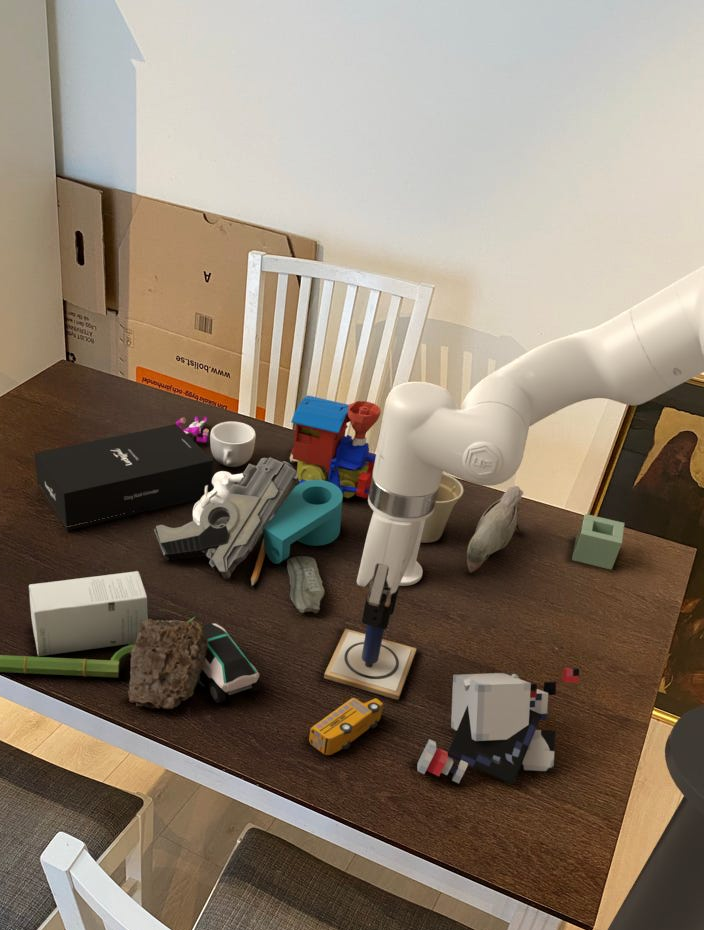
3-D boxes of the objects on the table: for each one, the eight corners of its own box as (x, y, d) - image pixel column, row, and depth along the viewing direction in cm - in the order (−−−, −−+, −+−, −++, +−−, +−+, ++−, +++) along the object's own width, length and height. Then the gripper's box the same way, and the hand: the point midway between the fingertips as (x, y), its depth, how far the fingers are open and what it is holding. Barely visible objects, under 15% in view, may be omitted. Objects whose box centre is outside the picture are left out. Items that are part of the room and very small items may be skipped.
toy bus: (386, 703, 115) (362, 687, 117) (334, 742, 110) (309, 725, 112) (383, 721, 117) (359, 705, 119) (331, 761, 112) (308, 744, 114)
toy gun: (142, 542, 139) (225, 585, 134) (216, 428, 142) (300, 465, 137) (149, 552, 142) (231, 594, 137) (221, 440, 145) (304, 477, 140)
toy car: (219, 709, 117) (221, 679, 114) (178, 651, 125) (178, 620, 121) (260, 695, 119) (264, 665, 116) (217, 639, 127) (219, 608, 124)
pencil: (272, 519, 150) (250, 590, 136) (269, 514, 150) (247, 584, 136) (277, 517, 150) (256, 588, 136) (275, 512, 149) (253, 583, 135)
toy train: (303, 462, 163) (312, 381, 153) (392, 483, 159) (407, 402, 149) (283, 490, 156) (292, 408, 146) (376, 514, 152) (391, 430, 142)
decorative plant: (-39, 659, 115) (205, 671, 116) (-27, 604, 120) (207, 616, 121) (-30, 684, 120) (203, 695, 122) (-20, 631, 125) (205, 642, 126)
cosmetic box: (149, 641, 126) (39, 662, 123) (139, 612, 130) (32, 631, 127) (148, 594, 120) (31, 614, 117) (137, 565, 125) (24, 584, 121)
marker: (362, 657, 124) (376, 577, 116) (379, 661, 124) (394, 582, 115) (357, 668, 123) (371, 588, 114) (374, 672, 122) (390, 592, 113)
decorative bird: (452, 567, 142) (462, 526, 137) (490, 520, 152) (501, 480, 148) (486, 580, 140) (497, 539, 135) (522, 531, 150) (534, 491, 145)
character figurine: (187, 427, 173) (164, 450, 163) (189, 400, 170) (166, 422, 160) (216, 433, 172) (195, 457, 162) (219, 407, 169) (198, 430, 159)
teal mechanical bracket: (353, 495, 142) (316, 473, 146) (282, 540, 136) (245, 516, 140) (350, 529, 147) (314, 507, 151) (281, 574, 140) (246, 549, 144)
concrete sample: (202, 613, 114) (208, 616, 119) (121, 618, 116) (130, 620, 121) (207, 707, 114) (212, 706, 119) (125, 711, 115) (134, 709, 120)
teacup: (215, 446, 166) (216, 418, 162) (257, 452, 165) (259, 425, 161) (201, 474, 159) (202, 446, 155) (246, 481, 158) (248, 453, 154)
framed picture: (415, 652, 127) (417, 647, 126) (398, 700, 120) (399, 694, 119) (344, 632, 129) (345, 627, 129) (323, 678, 122) (324, 672, 122)
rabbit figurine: (220, 500, 153) (222, 447, 147) (260, 514, 150) (265, 461, 144) (180, 534, 145) (181, 480, 139) (222, 551, 142) (225, 496, 136)
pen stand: (614, 549, 148) (624, 522, 144) (611, 570, 143) (622, 543, 140) (575, 539, 149) (584, 513, 146) (571, 560, 145) (581, 533, 142)
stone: (328, 603, 130) (293, 607, 130) (328, 615, 131) (293, 618, 131) (315, 554, 140) (282, 557, 140) (315, 565, 141) (282, 569, 141)
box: (67, 531, 144) (63, 493, 140) (37, 489, 153) (34, 452, 149) (211, 496, 154) (213, 460, 149) (176, 458, 163) (176, 423, 158)
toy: (474, 622, 117) (589, 672, 115) (416, 744, 120) (526, 794, 118) (482, 636, 105) (610, 692, 103) (416, 771, 108) (539, 827, 107)
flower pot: (417, 509, 154) (427, 463, 148) (463, 534, 149) (476, 488, 143) (380, 529, 149) (388, 482, 143) (427, 556, 144) (437, 509, 138)
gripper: (388, 453, 112) (365, 575, 125) (351, 521, 101) (330, 648, 113) (449, 467, 111) (420, 590, 123) (420, 538, 99) (391, 666, 111)
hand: (377, 617), depth 118 cm, fingers closed on marker, 2 cm apart
